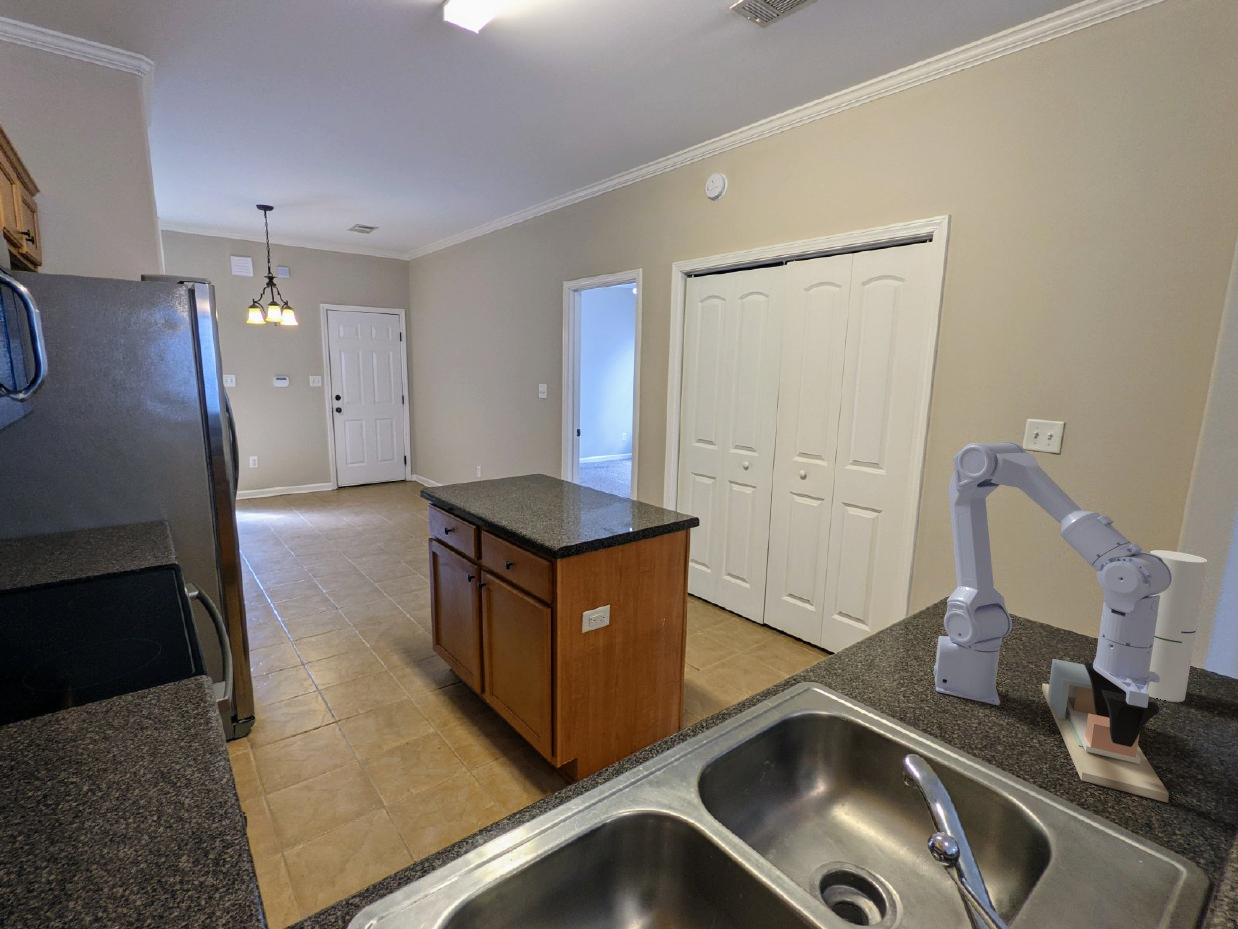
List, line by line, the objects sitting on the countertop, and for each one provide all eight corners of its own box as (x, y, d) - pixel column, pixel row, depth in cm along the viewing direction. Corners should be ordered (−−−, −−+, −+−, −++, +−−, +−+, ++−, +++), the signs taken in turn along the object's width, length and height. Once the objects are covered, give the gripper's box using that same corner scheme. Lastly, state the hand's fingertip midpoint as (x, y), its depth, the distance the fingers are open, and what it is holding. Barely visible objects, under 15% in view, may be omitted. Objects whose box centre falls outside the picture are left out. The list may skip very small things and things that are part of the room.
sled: (1085, 751, 83) (1090, 717, 82) (1058, 695, 98) (1062, 666, 97) (1139, 764, 80) (1145, 728, 79) (1103, 705, 95) (1107, 675, 94)
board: (1081, 780, 79) (1082, 771, 79) (1041, 689, 103) (1042, 682, 102) (1167, 802, 75) (1169, 792, 75) (1105, 702, 99) (1106, 695, 98)
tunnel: (1057, 725, 92) (1063, 679, 91) (1047, 701, 99) (1052, 658, 98) (1130, 742, 88) (1137, 694, 87) (1113, 715, 95) (1120, 671, 94)
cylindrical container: (1196, 702, 99) (1220, 562, 96) (1155, 701, 99) (1177, 561, 96) (1158, 681, 106) (1179, 550, 103) (1119, 680, 106) (1139, 549, 103)
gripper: (1185, 667, 72) (1170, 767, 74) (1144, 626, 85) (1131, 711, 87) (1113, 655, 75) (1100, 751, 77) (1084, 617, 88) (1073, 699, 90)
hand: (1112, 729), depth 82 cm, fingers open, 7 cm apart
